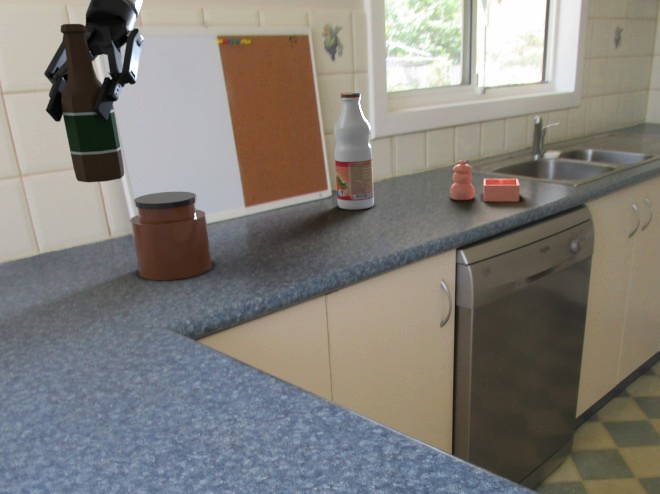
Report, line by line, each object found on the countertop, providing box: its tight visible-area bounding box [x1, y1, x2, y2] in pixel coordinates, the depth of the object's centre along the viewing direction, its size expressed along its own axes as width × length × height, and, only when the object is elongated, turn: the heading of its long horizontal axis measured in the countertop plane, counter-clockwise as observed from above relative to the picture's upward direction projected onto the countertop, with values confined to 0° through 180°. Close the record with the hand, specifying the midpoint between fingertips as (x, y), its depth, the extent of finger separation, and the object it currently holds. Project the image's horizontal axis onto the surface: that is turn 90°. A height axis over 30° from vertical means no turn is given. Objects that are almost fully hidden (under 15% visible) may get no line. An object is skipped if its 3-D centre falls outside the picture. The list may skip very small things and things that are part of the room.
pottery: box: [449, 159, 520, 202], centre depth 175 cm, size 18×10×10 cm, turn 83°
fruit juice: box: [333, 91, 375, 211], centre depth 166 cm, size 9×9×28 cm
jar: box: [129, 191, 213, 281], centre depth 121 cm, size 13×13×14 cm
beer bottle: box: [60, 23, 125, 183], centre depth 107 cm, size 8×8×24 cm
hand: (76, 115), depth 105 cm, fingers closed on beer bottle, 7 cm apart
